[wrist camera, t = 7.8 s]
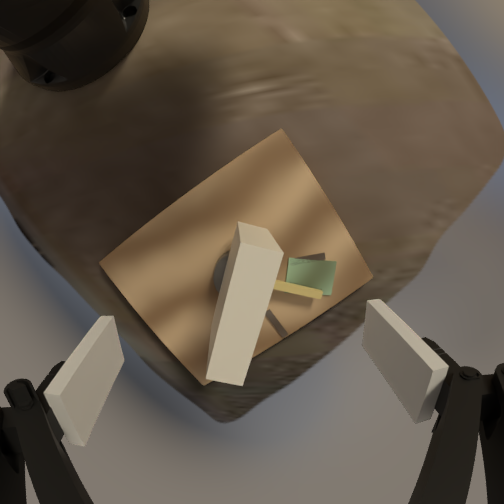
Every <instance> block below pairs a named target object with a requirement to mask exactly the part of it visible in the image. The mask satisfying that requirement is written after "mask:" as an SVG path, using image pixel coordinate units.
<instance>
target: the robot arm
mask: <svg viewBox="0 0 504 504" xmlns="http://www.w3.org/2000/svg"><path fill="white" fill-rule="evenodd" d="M148 12H149V0H0V49H2V50H3V51H4V52H5V54H6V55H7V57H8V58H9V60H10V61H11V63H12V64H13V65H14V67H15V68H16V70H17V71H18V73H19V74H20V75H21V76H22V77H23V78H24V79H25V80H26V81H28V82H29V83H31V84H33V85H36V86H38V87H41V88H43V89H46V90H51V91H66V90H71V89H75V88H78V87H81V86H84V85H86V84H88V83H90V82H92V81H94V80H96V79H98V78H99V77H101V76H102V75H104V74H105V73H107V72H108V71H109V70H111V69H112V68H113V67H114V66H115V65H117V64H118V63H119V62H120V61H121V60H122V59H123V58H124V57H125V56H126V54H127V53H128V52H129V51H130V50H131V49H132V47H133V46H134V44H135V43H136V41H137V40H138V38H139V37H140V35H141V33H142V31H143V29H144V26H145V24H146V21H147V17H148ZM362 346H363V348H364V349H365V351H366V352H367V353H368V355H369V356H370V358H371V359H372V361H373V362H374V363H375V365H376V366H377V368H378V369H379V371H380V372H381V374H382V375H383V377H384V378H385V379H386V381H387V382H388V384H389V385H390V387H391V388H392V389H393V391H394V393H395V394H396V395H397V397H398V398H399V400H400V401H401V403H402V404H403V406H404V407H405V409H406V410H407V412H408V413H409V415H410V416H411V418H412V419H413V421H414V422H415V424H417V423H419V422H423V421H426V420H429V419H431V416H432V414H433V411H434V409H436V411H437V412H438V413H439V415H438V418H437V420H436V423H435V425H434V427H433V430H432V432H433V435H432V438H431V442H430V445H429V448H428V451H427V454H426V458H425V461H424V464H423V466H422V469H421V472H420V475H419V478H418V480H417V483H416V486H415V488H414V491H413V493H412V496H411V498H410V501H409V503H408V504H465V503H466V499H467V495H468V491H469V486H470V481H471V477H472V472H473V466H474V461H475V455H476V448H477V440H478V433H479V435H480V441H481V447H482V454H483V461H484V468H485V476H486V487H487V500H488V504H504V363H502V364H499V365H498V366H497V368H496V369H495V373H494V374H491V375H482V374H481V373H480V372H479V371H478V370H476V369H475V368H472V367H467V366H464V367H460V366H459V365H458V364H457V363H456V362H455V361H454V360H453V359H452V358H451V357H450V356H449V355H448V354H447V353H445V352H444V350H443V349H440V347H439V346H438V345H437V344H436V343H435V342H434V341H432V340H430V339H428V338H426V337H425V338H420V337H419V336H418V335H417V334H416V333H415V332H414V331H413V330H412V329H411V328H410V327H409V326H408V325H407V324H406V323H404V321H403V320H401V319H400V318H399V317H398V316H397V315H396V314H395V313H394V312H393V311H392V310H391V309H390V308H389V307H388V306H387V305H386V304H385V303H384V302H383V301H381V300H380V299H376V300H367V306H366V316H365V325H364V333H363V341H362ZM123 363H124V357H123V353H122V349H121V345H120V341H119V337H118V333H117V329H116V324H115V320H114V316H100V317H99V319H98V320H97V321H96V323H95V324H94V325H93V326H92V328H91V329H90V330H89V332H88V333H87V334H86V335H85V337H84V338H83V339H82V341H81V342H80V343H79V345H78V346H77V347H76V349H75V350H74V351H73V353H72V354H71V355H70V357H69V358H68V359H67V361H61V362H60V363H58V364H57V365H55V366H54V367H53V368H52V369H51V371H50V372H49V375H47V376H46V378H45V380H43V382H42V383H41V384H40V386H39V387H38V388H37V390H36V391H35V389H34V387H33V385H32V383H31V381H29V380H27V379H17V380H14V381H12V382H10V383H9V384H8V385H7V386H6V387H5V389H4V394H5V396H6V398H7V400H8V402H9V404H10V406H11V407H4V408H1V407H0V504H27V502H26V488H25V462H26V466H27V469H28V472H29V475H30V478H31V481H32V484H33V487H34V489H35V492H36V495H37V497H38V500H39V503H40V504H94V503H93V502H92V500H91V498H90V497H89V495H88V493H87V491H86V489H85V488H84V486H83V484H82V482H81V480H80V478H79V476H78V474H77V472H76V471H75V468H74V466H73V464H72V463H71V460H70V458H69V456H68V454H67V452H66V450H65V447H64V445H63V444H62V442H61V439H62V437H63V435H65V437H66V439H67V440H68V442H69V443H70V444H73V445H79V446H84V447H85V446H86V443H87V441H88V439H89V436H90V434H91V432H92V429H93V427H94V425H95V422H96V420H97V418H98V416H99V414H100V411H101V409H102V407H103V405H104V403H105V400H106V398H107V396H108V394H109V392H110V390H111V388H112V385H113V383H114V381H115V379H116V377H117V375H118V373H119V371H120V369H121V366H122V365H123Z"/></svg>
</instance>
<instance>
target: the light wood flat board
mask: <svg viewBox="0 0 504 504" xmlns="http://www.w3.org/2000/svg"><path fill="white" fill-rule="evenodd" d="M238 221H239V222H242V223H246V224H250V225H254V226H258V227H262V228H266V229H268V230H269V232H270V233H271V235H272V236H273V238H274V239H275V241H276V242H277V244H278V245H279V247H280V248H281V250H282V251H283V253H284V254H283V258H282V261H281V264H280V268H279V271H278V274H277V278H276V280H279V281H284V282H288V283H292V284H297V285H301V286H306V287H310V288H314V289H319V290H322V291H323V294H322V297H321V299H316V298H312V297H307V296H303V295H298V294H293V293H289V292H284V291H280V290H276V289H273V291H272V294H271V298H270V301H269V304H268V307H267V311H266V314H265V317H264V320H263V323H262V327H261V330H260V333H259V336H258V339H257V343H256V346H255V349H254V352H253V355H252V358H253V357H255V356H256V355H258V354H260V353H261V352H263V351H264V350H266V349H268V348H269V347H271V346H273V345H274V344H276V343H277V342H279V341H281V340H282V339H284V338H285V337H287V336H288V335H290V334H292V333H293V332H295V331H296V330H298V329H299V328H301V327H302V326H304V325H306V324H307V323H309V322H310V321H312V320H313V319H315V318H316V317H318V316H319V315H321V314H322V313H324V312H325V311H326V310H328V309H329V308H331V307H332V306H334V305H335V304H337V303H338V302H340V301H341V300H342V299H344V298H345V297H347V296H348V295H350V294H351V293H352V292H354V291H355V290H357V289H358V288H359V287H361V286H362V285H364V284H365V283H366V282H368V281H369V280H370V279H372V278H373V276H372V274H371V272H370V270H369V268H368V267H367V265H366V263H365V261H364V259H363V258H362V256H361V254H360V252H359V250H358V249H357V247H356V245H355V243H354V242H353V240H352V238H351V236H350V235H349V233H348V231H347V230H346V228H345V226H344V224H343V223H342V221H341V219H340V218H339V216H338V214H337V213H336V211H335V209H334V208H333V206H332V204H331V203H330V201H329V200H328V198H327V196H326V195H325V193H324V192H323V190H322V188H321V187H320V185H319V184H318V182H317V180H316V179H315V177H314V176H313V174H312V173H311V171H310V170H309V168H308V167H307V165H306V163H305V162H304V160H303V159H302V157H301V156H300V154H299V153H298V151H297V150H296V148H295V147H294V146H293V144H292V143H291V141H290V140H289V138H288V137H287V135H286V134H285V132H284V131H283V130H282V128H281V129H280V130H278V131H277V132H275V133H273V134H272V135H270V136H269V137H267V138H266V139H264V140H263V141H261V142H260V143H258V144H256V145H255V146H253V147H252V148H250V149H249V150H247V151H246V152H244V153H243V154H241V155H240V156H238V157H237V158H236V159H234V160H233V161H231V162H230V163H228V164H227V165H225V166H224V167H222V168H221V169H220V170H218V171H217V172H215V173H214V174H212V175H211V176H210V177H208V178H207V179H205V180H204V181H203V182H201V183H200V184H198V185H197V186H196V187H194V188H193V189H192V190H190V191H189V192H187V193H186V194H185V195H183V196H182V197H181V198H179V199H178V200H177V201H175V202H174V203H173V204H171V205H170V206H169V207H167V208H166V209H165V210H163V211H162V212H161V213H159V214H158V215H157V216H156V217H154V218H153V219H152V220H150V221H149V222H148V223H147V224H145V225H144V226H143V227H141V228H140V229H139V230H138V231H136V232H135V233H134V234H133V235H131V236H130V237H129V238H128V239H127V240H125V241H124V242H123V243H122V244H120V245H119V246H118V247H117V248H116V249H114V250H113V251H112V252H111V253H109V254H108V255H107V256H106V257H105V258H104V259H102V260H101V261H100V262H99V264H100V265H101V267H102V268H103V269H104V271H105V272H106V273H107V275H108V276H109V277H110V279H111V280H112V281H113V283H114V284H115V285H116V286H117V288H118V289H119V290H120V292H121V293H122V294H123V295H124V297H125V298H126V299H127V300H128V302H129V303H130V304H131V305H132V307H133V308H134V309H135V310H136V311H137V313H138V314H139V315H140V316H141V317H142V319H143V320H144V321H145V322H146V323H147V325H148V326H149V327H150V328H151V329H152V330H153V332H154V333H155V334H156V335H157V336H158V337H159V338H160V340H161V341H162V342H163V343H164V344H165V345H166V346H167V347H168V349H169V350H170V351H171V352H172V353H173V354H174V355H175V356H176V357H177V358H178V360H179V361H180V362H181V363H182V364H183V365H184V366H185V367H186V368H187V369H188V370H189V371H190V372H191V373H192V374H193V375H194V377H195V378H196V379H197V380H198V381H199V382H200V383H201V384H202V385H203V386H204V385H206V384H208V383H210V382H211V381H213V380H209V379H206V370H207V360H208V351H209V342H210V333H211V325H212V320H213V316H214V312H215V308H216V304H217V300H218V296H219V293H218V291H217V290H216V288H215V285H214V280H213V276H214V270H215V265H216V262H217V260H218V259H219V258H220V256H221V255H223V254H224V253H225V252H227V251H230V249H231V245H232V241H233V237H234V233H235V230H236V226H237V222H238Z"/></svg>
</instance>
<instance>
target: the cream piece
mask: <svg viewBox="0 0 504 504" xmlns="http://www.w3.org/2000/svg"><path fill="white" fill-rule="evenodd" d="M283 254H284V253H283V251H282V250H281V248H280V247H279V245H278V244H277V242H276V241H275V239H274V238H273V236H272V235H271V233H270V232H269V230H268V229H266V228H262V227H258V226H254V225H250V224H246V223H242V222H239V221H238V222H237V226H236V230H235V233H234V237H233V241H232V245H231V249H230V251H227V252H225V253H224V254H223V255H221V256H220V258H219V259H218V260H217V262H216V265H215V270H214V276H213V280H214V285H215V288H216V290H217V291H218V293H219V296H218V300H217V304H216V308H215V312H214V316H213V320H212V325H211V333H210V342H209V351H208V360H207V370H206V379H209V380H214V381H219V382H224V383H229V384H234V385H240V386H243V383H244V380H245V377H246V374H247V371H248V368H249V364H250V361H251V358H252V355H253V352H254V349H255V346H256V343H257V339H258V336H259V333H260V330H261V327H262V323H263V320H264V317H265V314H266V311H267V307H268V304H269V301H270V298H271V294H272V291H273V289H276V290H280V291H284V292H289V293H293V294H298V295H303V296H307V297H312V298H316V299H321V297H322V294H323V291H322V290H319V289H314V288H310V287H306V286H301V285H297V284H292V283H288V282H284V281H279V280H276V278H277V274H278V271H279V268H280V264H281V261H282V258H283Z"/></svg>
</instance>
